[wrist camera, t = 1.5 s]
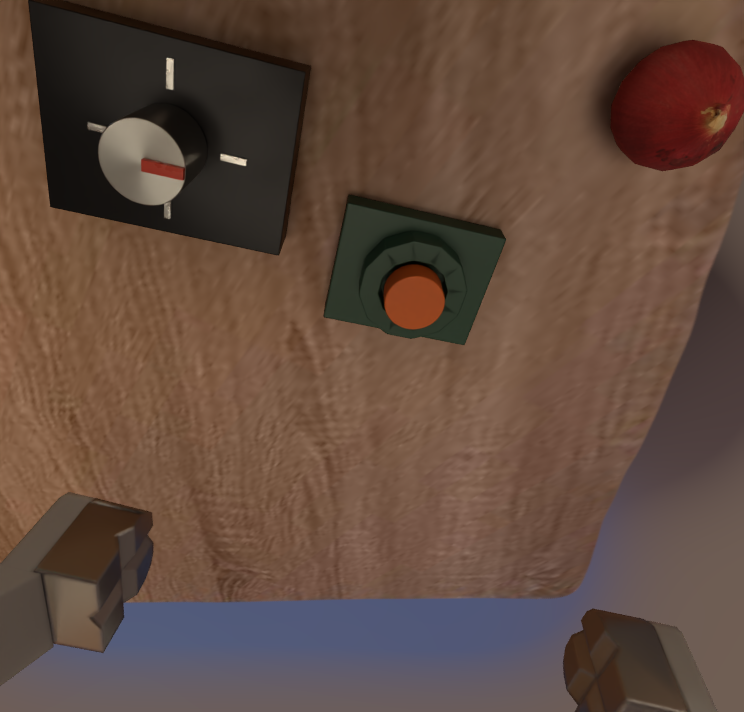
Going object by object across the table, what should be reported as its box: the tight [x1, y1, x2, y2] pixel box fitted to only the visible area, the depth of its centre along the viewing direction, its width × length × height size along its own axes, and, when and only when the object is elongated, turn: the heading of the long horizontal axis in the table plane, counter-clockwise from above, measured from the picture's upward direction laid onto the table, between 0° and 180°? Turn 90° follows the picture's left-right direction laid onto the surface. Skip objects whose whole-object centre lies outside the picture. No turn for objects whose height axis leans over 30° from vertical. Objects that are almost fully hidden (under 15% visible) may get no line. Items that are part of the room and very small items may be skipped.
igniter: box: [324, 195, 506, 345], centre depth 34 cm, size 10×8×4 cm
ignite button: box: [384, 264, 445, 329], centre depth 32 cm, size 4×4×2 cm
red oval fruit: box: [610, 40, 744, 171], centre depth 26 cm, size 6×6×8 cm
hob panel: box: [28, 0, 311, 255], centre depth 29 cm, size 13×10×3 cm
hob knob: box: [98, 103, 207, 206], centre depth 26 cm, size 4×4×4 cm
